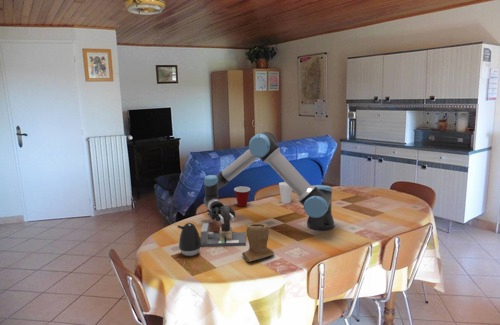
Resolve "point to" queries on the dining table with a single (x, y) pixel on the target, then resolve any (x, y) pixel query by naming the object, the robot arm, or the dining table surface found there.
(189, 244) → the pump dispenser
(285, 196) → the foam cup
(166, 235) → the dining table surface
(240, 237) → the gauge base
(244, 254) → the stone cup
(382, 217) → the dining table surface
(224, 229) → the gauge slider
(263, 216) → the dining table surface
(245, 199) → the plastic cup
